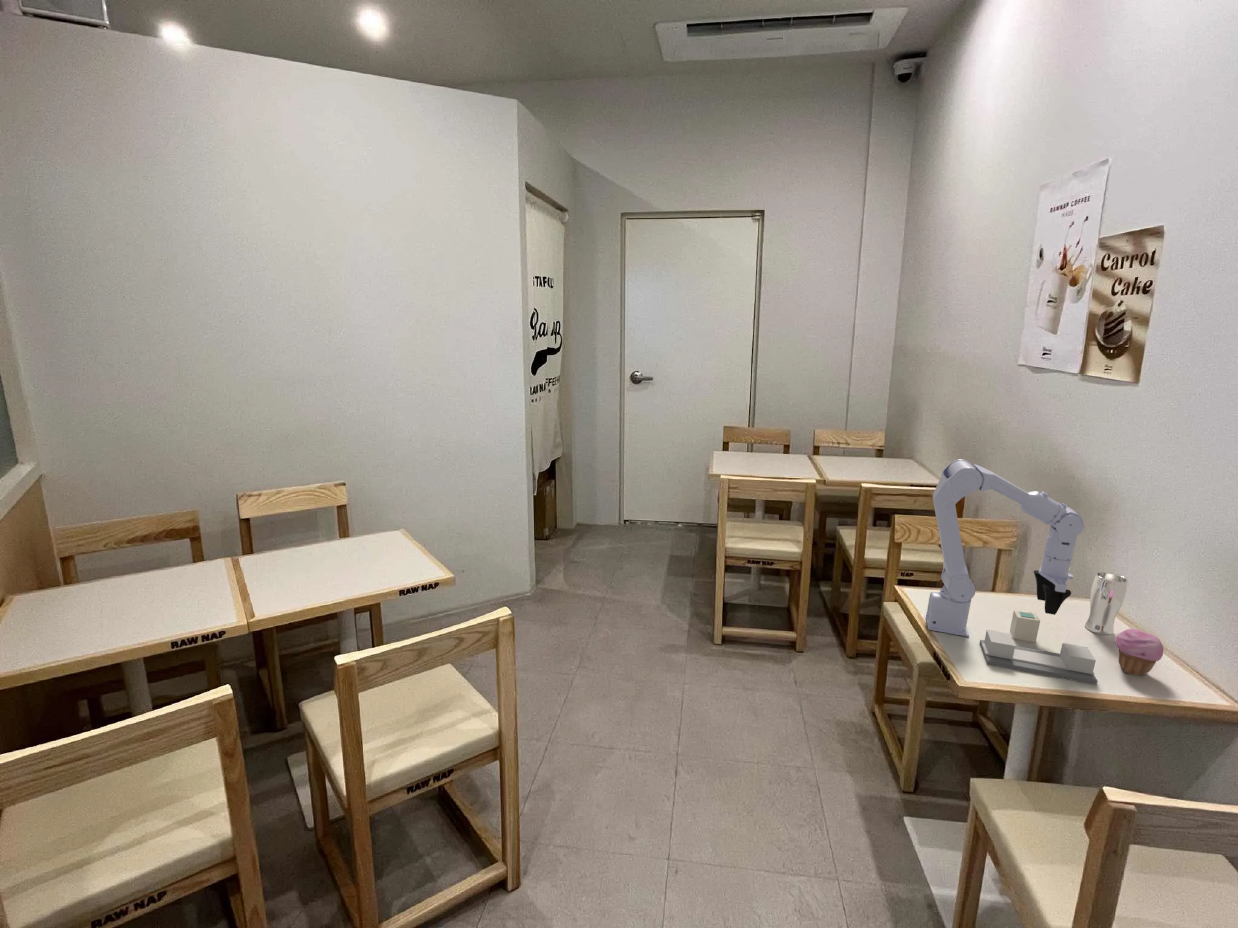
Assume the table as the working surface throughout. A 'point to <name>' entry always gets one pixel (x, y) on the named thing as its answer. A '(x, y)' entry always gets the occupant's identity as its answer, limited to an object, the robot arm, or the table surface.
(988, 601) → the table surface
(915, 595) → the table surface
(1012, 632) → the block
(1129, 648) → the cupcake
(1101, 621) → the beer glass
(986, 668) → the table surface
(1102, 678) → the table surface
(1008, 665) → the rail board
